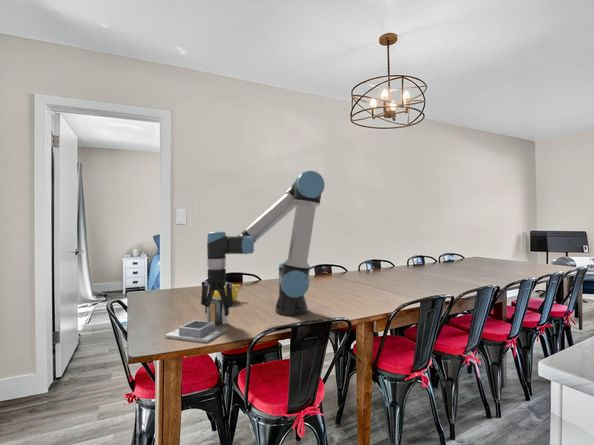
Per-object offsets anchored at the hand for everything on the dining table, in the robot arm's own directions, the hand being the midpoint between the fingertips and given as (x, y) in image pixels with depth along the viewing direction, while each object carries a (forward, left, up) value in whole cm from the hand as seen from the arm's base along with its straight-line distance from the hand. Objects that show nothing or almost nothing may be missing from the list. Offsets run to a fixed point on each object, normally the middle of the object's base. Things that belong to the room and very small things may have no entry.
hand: (217, 322), depth 140 cm
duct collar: (0, +14, 0) cm, 14 cm away
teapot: (+16, -32, -1) cm, 36 cm away
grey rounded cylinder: (0, 0, 0) cm, 0 cm away
